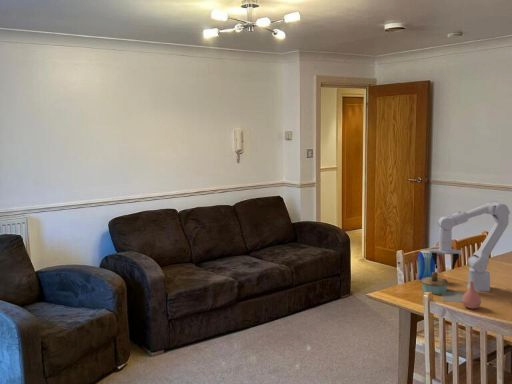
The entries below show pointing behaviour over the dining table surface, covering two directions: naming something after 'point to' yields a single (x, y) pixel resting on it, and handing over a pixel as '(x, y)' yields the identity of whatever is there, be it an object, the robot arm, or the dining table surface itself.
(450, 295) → the mat
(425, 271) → the beer can
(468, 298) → the perfume bottle
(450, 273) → the dining table surface
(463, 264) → the dining table surface
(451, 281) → the dining table surface
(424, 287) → the bowl
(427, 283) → the lid
